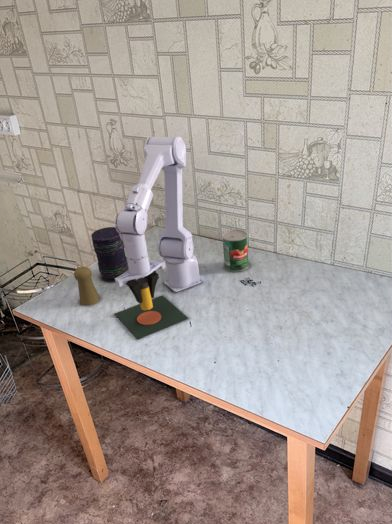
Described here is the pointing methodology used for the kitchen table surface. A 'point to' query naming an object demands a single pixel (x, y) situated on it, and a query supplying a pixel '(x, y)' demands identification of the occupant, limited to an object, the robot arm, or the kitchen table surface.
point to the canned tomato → (235, 250)
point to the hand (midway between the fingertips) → (145, 299)
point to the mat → (151, 317)
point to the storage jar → (109, 253)
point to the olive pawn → (86, 286)
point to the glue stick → (145, 294)
